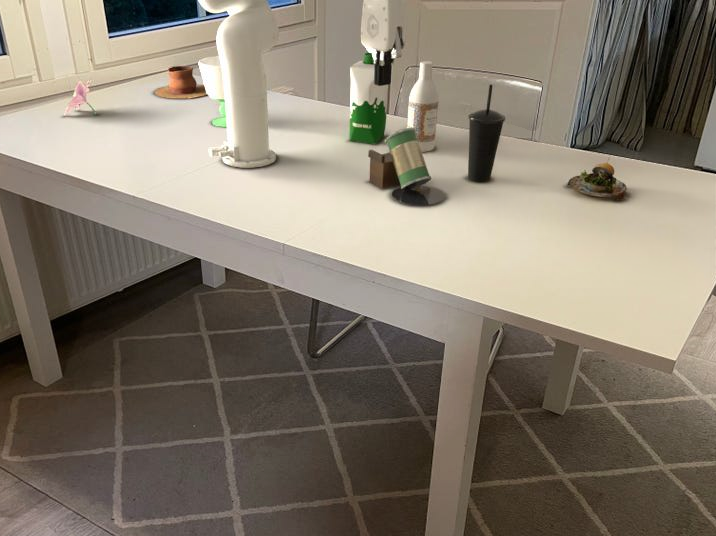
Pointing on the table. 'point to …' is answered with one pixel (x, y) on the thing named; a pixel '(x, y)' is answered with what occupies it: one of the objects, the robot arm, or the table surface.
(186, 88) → the ceramic pot
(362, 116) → the milk carton
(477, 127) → the drinking cup
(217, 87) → the cup
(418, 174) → the can
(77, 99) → the lily
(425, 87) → the bath foam
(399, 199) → the coaster
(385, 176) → the rest
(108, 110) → the table surface
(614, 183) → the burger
